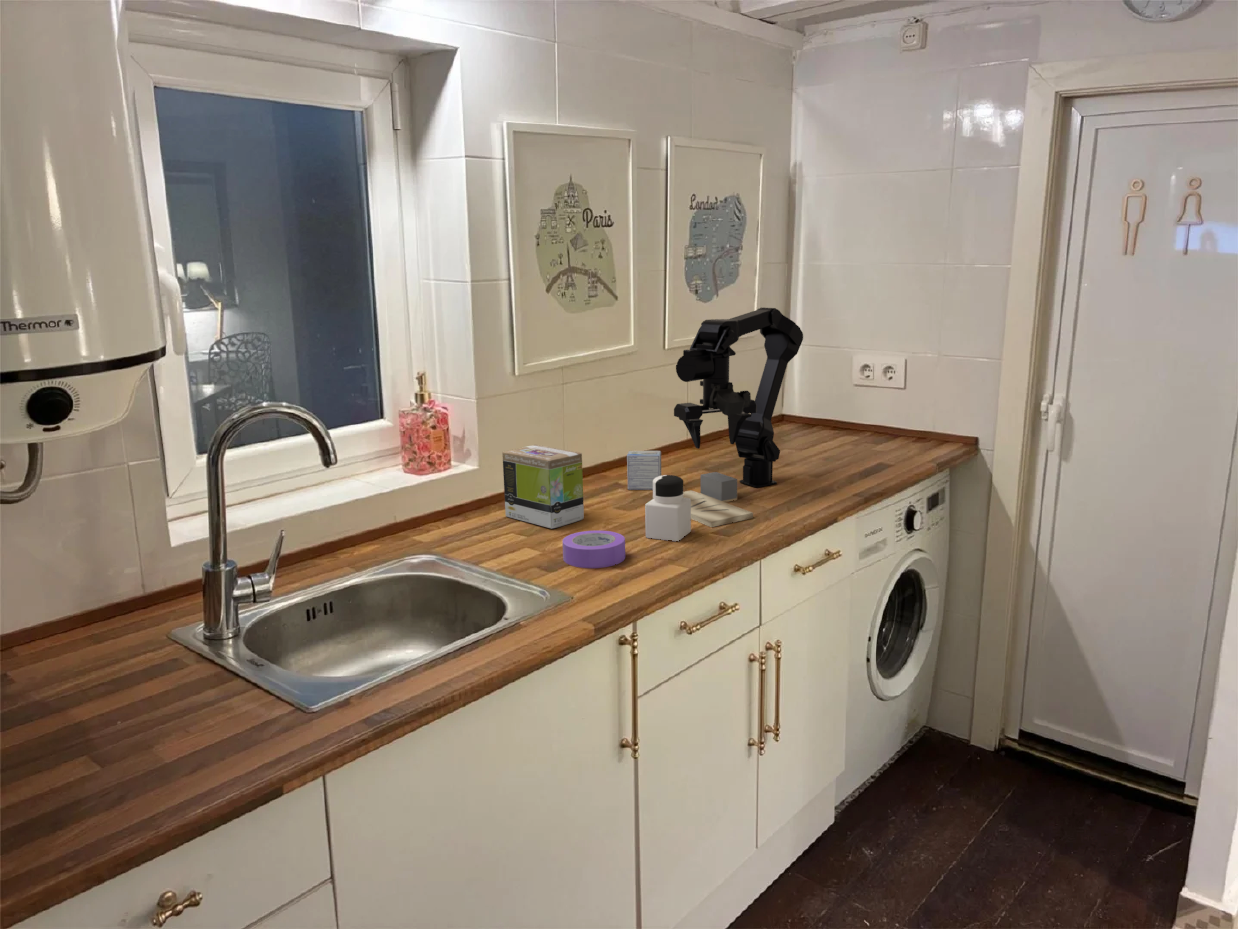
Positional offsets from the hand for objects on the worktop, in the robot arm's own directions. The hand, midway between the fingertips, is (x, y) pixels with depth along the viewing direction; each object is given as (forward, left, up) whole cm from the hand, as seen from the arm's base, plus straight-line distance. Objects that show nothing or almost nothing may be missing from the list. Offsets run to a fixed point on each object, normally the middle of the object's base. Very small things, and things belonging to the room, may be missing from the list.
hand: (715, 446), depth 212 cm
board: (+9, +6, -12) cm, 16 cm away
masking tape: (+43, +19, -12) cm, 49 cm away
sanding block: (-1, 0, -12) cm, 12 cm away
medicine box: (+8, -17, -12) cm, 22 cm away
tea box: (+39, -9, -12) cm, 42 cm away
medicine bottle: (+24, +16, -12) cm, 32 cm away
